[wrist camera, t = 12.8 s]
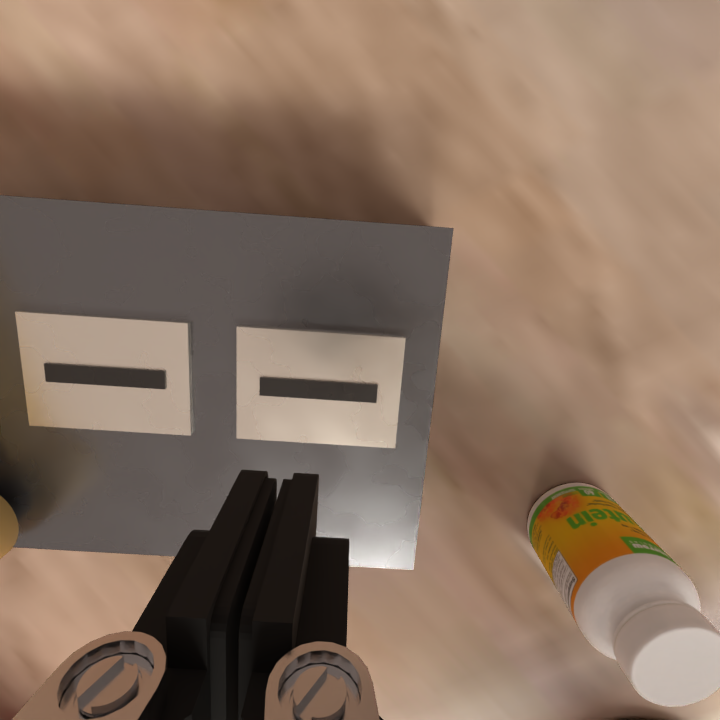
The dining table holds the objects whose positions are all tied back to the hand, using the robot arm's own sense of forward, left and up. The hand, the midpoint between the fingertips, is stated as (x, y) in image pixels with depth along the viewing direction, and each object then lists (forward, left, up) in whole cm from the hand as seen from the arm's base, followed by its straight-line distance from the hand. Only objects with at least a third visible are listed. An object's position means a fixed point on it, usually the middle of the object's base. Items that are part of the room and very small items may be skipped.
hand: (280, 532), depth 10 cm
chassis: (+6, +1, -15) cm, 16 cm away
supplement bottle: (-15, +9, -15) cm, 23 cm away
